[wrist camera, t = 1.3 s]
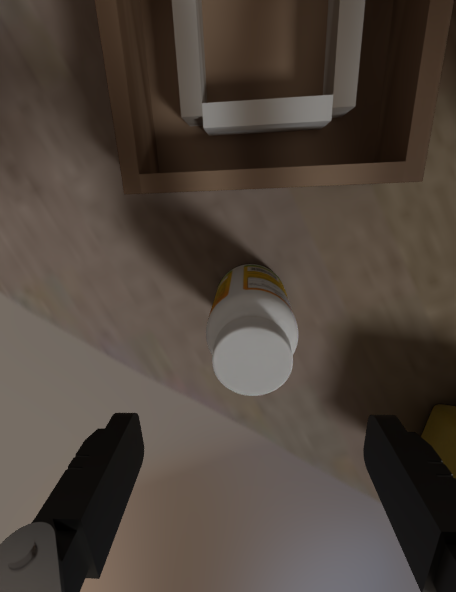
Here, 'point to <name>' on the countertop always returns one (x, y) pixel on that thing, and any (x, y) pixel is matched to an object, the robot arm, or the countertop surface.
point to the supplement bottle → (251, 331)
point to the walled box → (271, 91)
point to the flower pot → (443, 434)
